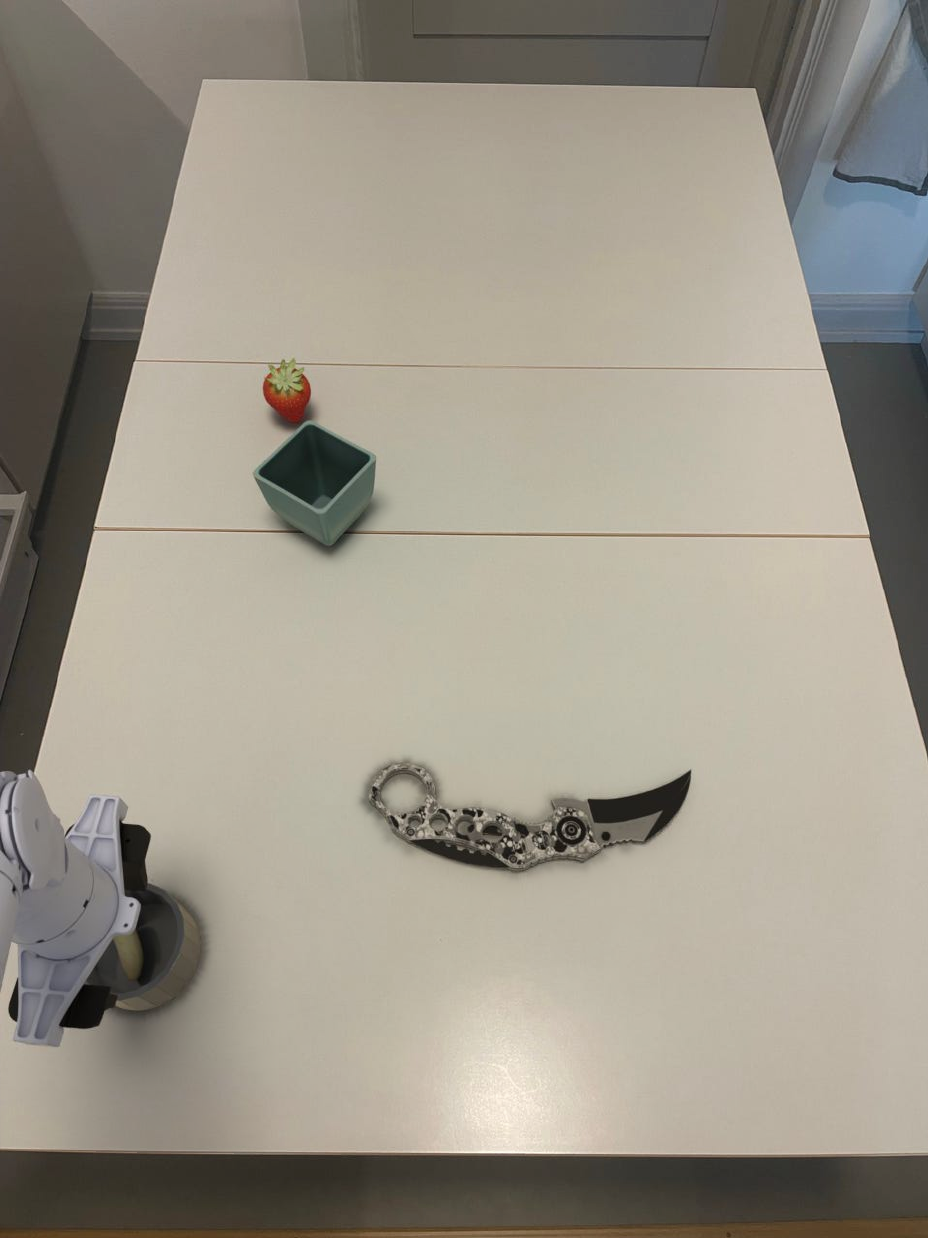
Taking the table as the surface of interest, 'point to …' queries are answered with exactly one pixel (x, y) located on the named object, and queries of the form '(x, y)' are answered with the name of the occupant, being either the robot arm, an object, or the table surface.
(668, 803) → the knife
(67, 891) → the robot arm
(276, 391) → the fruit
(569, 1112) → the table surface
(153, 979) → the holder
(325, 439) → the flower pot
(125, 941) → the fruit
